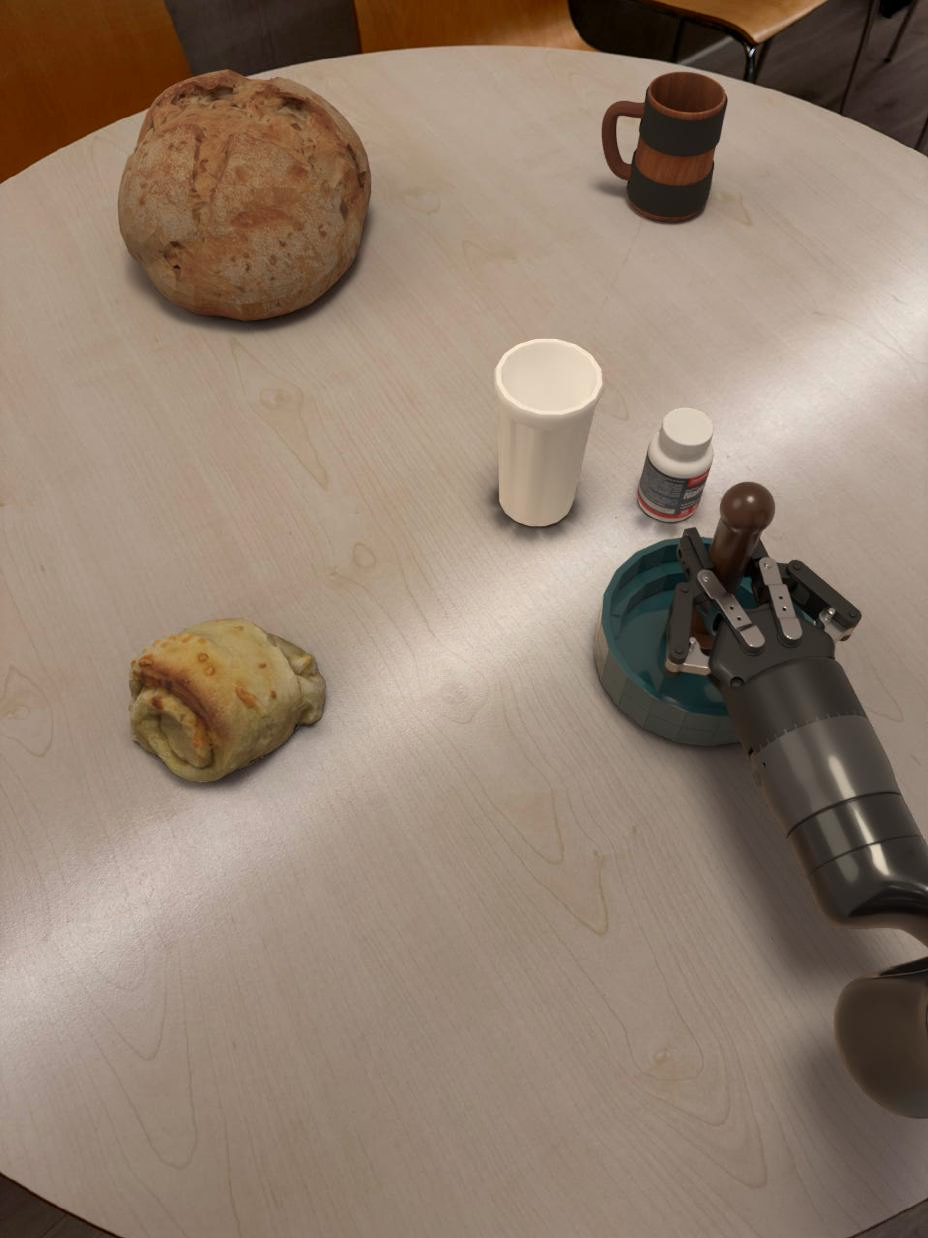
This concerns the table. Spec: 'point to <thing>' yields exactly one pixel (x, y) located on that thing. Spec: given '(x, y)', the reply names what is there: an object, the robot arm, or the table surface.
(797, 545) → the table surface
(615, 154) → the mug
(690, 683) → the bowl
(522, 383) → the cup
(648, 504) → the pill bottle
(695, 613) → the pestle
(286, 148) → the bread
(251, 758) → the pastry
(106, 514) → the table surface
